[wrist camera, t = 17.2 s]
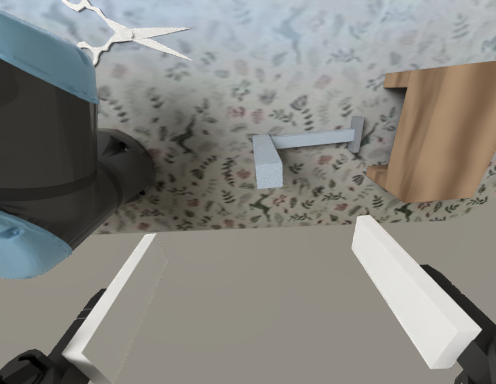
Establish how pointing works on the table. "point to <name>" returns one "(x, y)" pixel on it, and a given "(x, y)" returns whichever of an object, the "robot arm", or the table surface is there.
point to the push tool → (269, 159)
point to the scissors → (125, 33)
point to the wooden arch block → (441, 133)
